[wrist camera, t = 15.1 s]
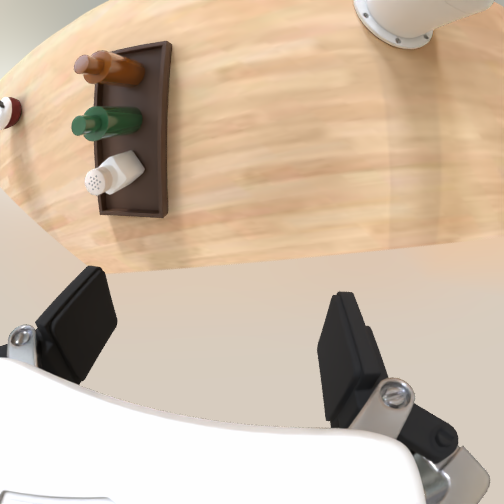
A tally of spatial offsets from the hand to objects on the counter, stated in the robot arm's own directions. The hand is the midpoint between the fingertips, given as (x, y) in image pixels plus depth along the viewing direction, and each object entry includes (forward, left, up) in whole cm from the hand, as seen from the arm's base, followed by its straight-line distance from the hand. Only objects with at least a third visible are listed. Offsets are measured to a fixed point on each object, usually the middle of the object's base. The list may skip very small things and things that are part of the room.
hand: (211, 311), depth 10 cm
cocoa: (-14, -46, -28) cm, 56 cm away
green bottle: (-8, -18, -28) cm, 34 cm away
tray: (-6, -18, -28) cm, 34 cm away
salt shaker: (0, -18, -28) cm, 33 cm away
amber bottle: (-14, -18, -28) cm, 36 cm away
